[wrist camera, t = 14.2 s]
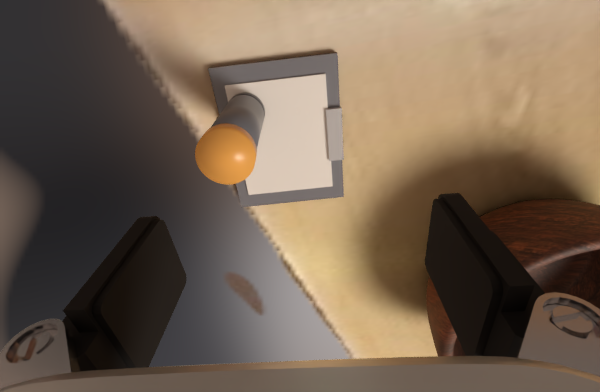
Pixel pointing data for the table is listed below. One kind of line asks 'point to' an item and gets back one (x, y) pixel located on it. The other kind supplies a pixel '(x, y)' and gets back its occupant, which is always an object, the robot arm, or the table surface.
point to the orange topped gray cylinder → (232, 140)
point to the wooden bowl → (537, 255)
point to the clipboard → (290, 127)
